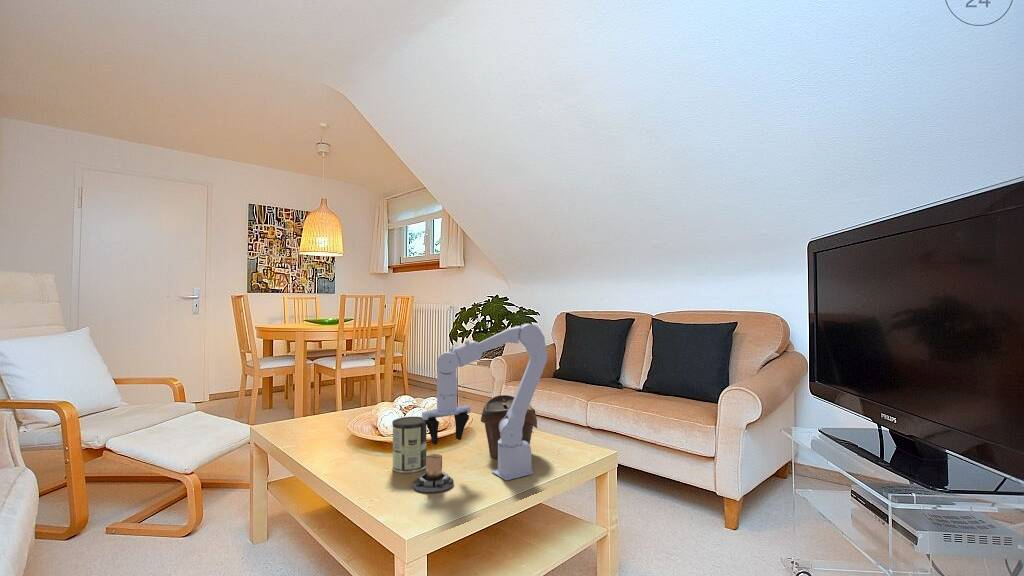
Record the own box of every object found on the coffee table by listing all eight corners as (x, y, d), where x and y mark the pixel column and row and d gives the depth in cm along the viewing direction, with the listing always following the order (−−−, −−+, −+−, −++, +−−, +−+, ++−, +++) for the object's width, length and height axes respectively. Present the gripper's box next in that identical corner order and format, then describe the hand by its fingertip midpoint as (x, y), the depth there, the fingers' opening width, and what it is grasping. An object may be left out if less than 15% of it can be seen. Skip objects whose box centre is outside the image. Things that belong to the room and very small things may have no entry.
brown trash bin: (518, 468, 142) (518, 407, 143) (468, 455, 154) (468, 400, 155) (549, 453, 157) (549, 399, 157) (502, 443, 169) (502, 392, 169)
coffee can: (413, 459, 151) (413, 414, 151) (433, 466, 144) (433, 420, 144) (385, 467, 143) (385, 420, 143) (405, 476, 136) (405, 426, 137)
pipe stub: (436, 478, 132) (436, 453, 132) (445, 482, 129) (445, 456, 129) (422, 482, 129) (422, 456, 130) (431, 487, 126) (431, 460, 126)
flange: (442, 474, 137) (442, 466, 137) (460, 487, 128) (460, 478, 128) (406, 483, 131) (406, 474, 131) (422, 496, 122) (422, 487, 122)
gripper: (429, 399, 129) (429, 449, 129) (475, 393, 138) (475, 440, 137) (419, 395, 135) (418, 442, 135) (464, 389, 143) (463, 434, 143)
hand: (446, 441), depth 136 cm, fingers open, 7 cm apart
